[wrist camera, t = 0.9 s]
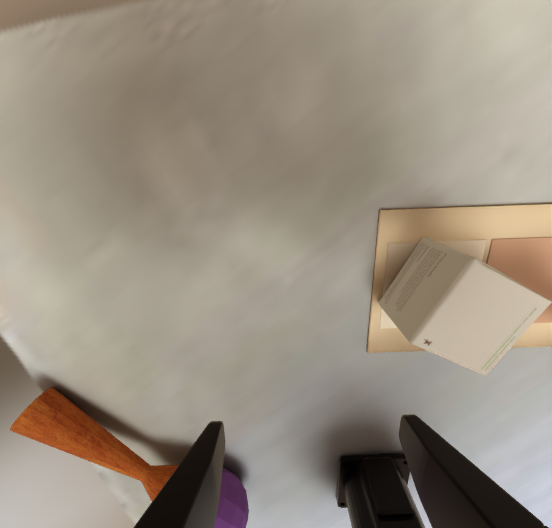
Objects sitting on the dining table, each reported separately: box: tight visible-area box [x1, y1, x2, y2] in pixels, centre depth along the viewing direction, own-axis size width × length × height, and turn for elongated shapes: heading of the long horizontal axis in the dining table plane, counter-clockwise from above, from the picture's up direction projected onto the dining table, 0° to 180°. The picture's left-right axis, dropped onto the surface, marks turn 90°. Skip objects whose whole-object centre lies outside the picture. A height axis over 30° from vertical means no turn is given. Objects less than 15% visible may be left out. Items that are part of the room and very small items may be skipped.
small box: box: [378, 237, 552, 376], centre depth 17 cm, size 6×6×5 cm
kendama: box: [10, 387, 249, 528], centre depth 22 cm, size 6×6×20 cm
